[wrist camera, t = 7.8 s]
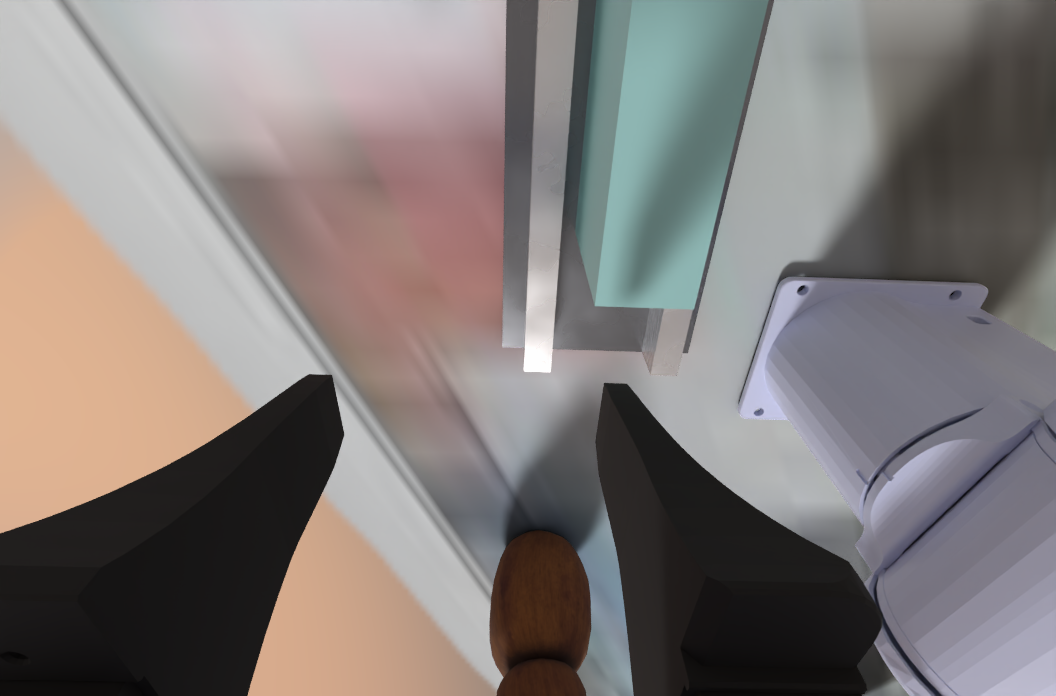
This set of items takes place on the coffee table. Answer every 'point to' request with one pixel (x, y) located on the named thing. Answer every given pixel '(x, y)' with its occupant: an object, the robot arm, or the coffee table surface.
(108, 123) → the coffee table surface
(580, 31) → the track
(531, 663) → the wooden figurine
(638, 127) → the door panel
